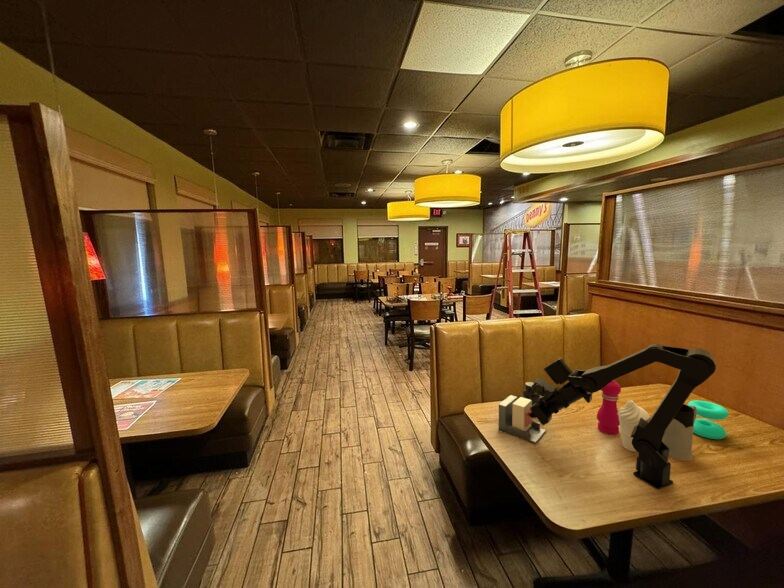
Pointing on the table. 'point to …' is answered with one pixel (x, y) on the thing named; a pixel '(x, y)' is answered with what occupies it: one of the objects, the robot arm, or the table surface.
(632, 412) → the soft serve ice cream cone
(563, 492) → the table surface
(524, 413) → the cream block orange label
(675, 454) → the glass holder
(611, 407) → the pepper mill
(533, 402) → the supplement bottle
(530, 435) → the press stand
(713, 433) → the donuts
